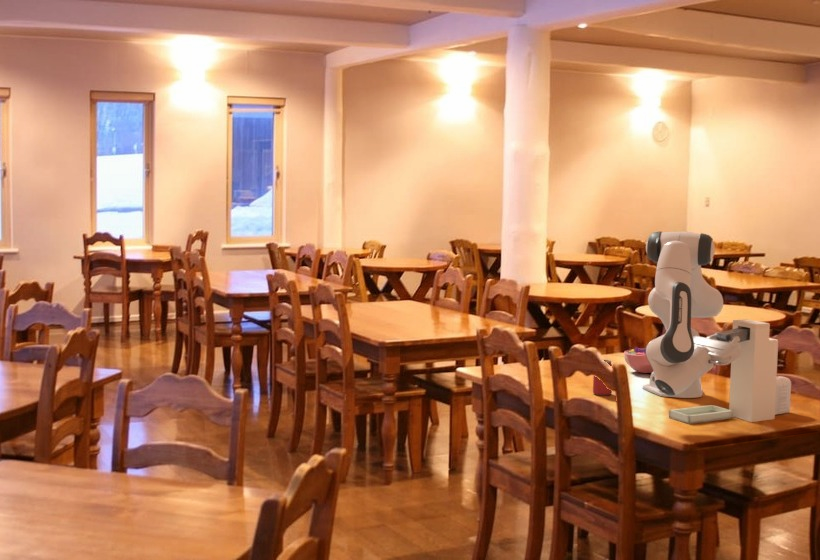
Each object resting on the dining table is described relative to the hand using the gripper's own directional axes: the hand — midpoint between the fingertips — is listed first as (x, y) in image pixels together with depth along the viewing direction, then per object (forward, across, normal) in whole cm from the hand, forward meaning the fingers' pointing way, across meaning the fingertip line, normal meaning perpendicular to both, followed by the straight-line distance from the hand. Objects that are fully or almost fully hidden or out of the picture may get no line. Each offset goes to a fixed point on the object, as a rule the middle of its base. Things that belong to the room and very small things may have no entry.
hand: (728, 335), depth 333 cm
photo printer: (+6, +1, +36) cm, 36 cm away
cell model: (+12, +75, +39) cm, 85 cm away
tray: (-18, +6, +21) cm, 29 cm away
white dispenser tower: (-4, 0, +29) cm, 30 cm away
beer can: (-24, +49, +18) cm, 57 cm away
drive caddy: (+2, 0, +3) cm, 4 cm away
